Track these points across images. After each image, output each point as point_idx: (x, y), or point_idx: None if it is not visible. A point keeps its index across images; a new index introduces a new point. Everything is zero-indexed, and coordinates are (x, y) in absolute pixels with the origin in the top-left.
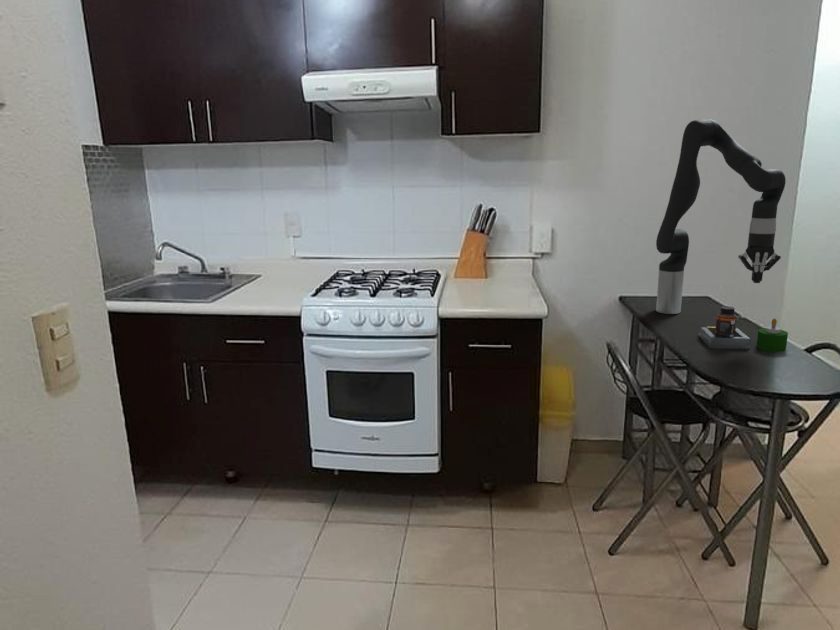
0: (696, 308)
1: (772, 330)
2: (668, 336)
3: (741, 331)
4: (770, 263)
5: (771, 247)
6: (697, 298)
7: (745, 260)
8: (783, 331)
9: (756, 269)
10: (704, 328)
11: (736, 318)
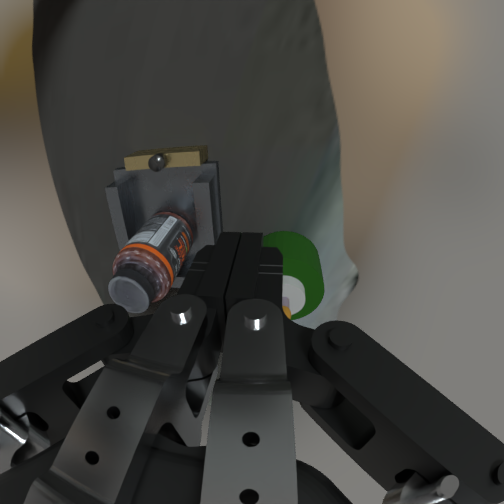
0: None
1: None
2: (60, 185)
3: (212, 225)
4: (349, 453)
5: None
6: None
7: (51, 434)
8: (316, 288)
9: (194, 381)
10: (112, 200)
11: (169, 289)
